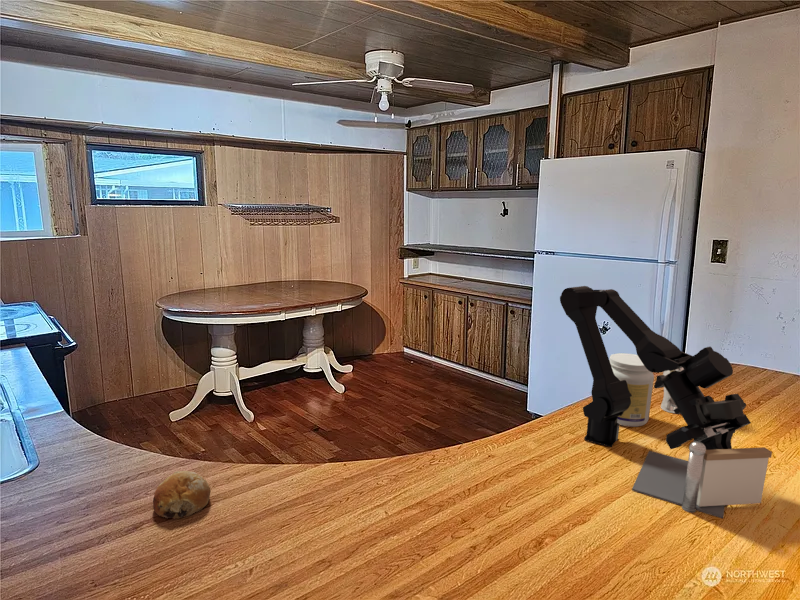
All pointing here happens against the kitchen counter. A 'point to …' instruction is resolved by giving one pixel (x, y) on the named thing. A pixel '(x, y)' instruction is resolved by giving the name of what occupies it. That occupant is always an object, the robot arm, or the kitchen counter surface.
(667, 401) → the beer glass
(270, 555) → the kitchen counter surface
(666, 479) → the mat
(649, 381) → the supplement tub
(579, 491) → the kitchen counter surface
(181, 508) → the bread roll
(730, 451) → the panel
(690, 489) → the gate post
